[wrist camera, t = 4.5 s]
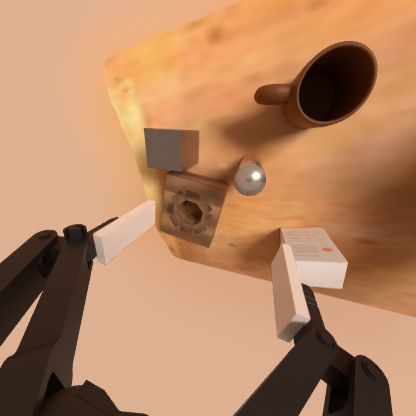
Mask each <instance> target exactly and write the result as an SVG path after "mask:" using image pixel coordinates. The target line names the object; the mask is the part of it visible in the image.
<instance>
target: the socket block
mask: <svg viewBox="0 0 416 416" xmlns="http://www.w3.org/2000/svg"><path fill="white" fill-rule="evenodd" d="M228 187H229V184H227V183H224V182H221V181H217V180H214V179H211V178H207V177H204V176H201V175H197V174H194V173H191V172H188V171H184V170H183V171H171V172H168V173H166V181H165V192H164V202H163V212H162V222H161V231H163V232H166V233H168V234H171V235H174V236H177V237H179V238H182V239H185V240H188V241H191V242H193V243H196V244H199V245H202V246H204V247H207V248H209V247H210V244H211V242H212V239H213V237H214V234H215V230H216V227H217V224H218V220H219V217H220V214H221V210H222V207H223V204H224V200H225V197H226V194H227V190H228ZM186 200H187V201H190V202H193V203H197V205H198V206H199V208H200V209H201V211H202V213H203V214H202V215H196V214H193V213H190V212H189V210H188V209H187V207H186V206H185V202H186Z"/></svg>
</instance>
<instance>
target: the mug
mask: <svg viewBox="0 0 416 416" xmlns="http://www.w3.org/2000/svg"><path fill="white" fill-rule="evenodd" d="M376 77H377V62H376V58H375V56H374V54H373V52H372V51H371V50H370V49H369V48H368V47H367V46H366V45H364V44H362V43H359V42H354V41H344V42H339V43H336V44H333V45H331V46H329V47H327V48H326V49H324V50H322V51H321V52H320V53H318V54H317V55H316V56H315V57H314V58H313V59H312V60H311V61H310V62H308V63H307V65H306V66H305V67H304V68H303V69H302V70H301V72H300V73H299V74H298V76H297V77H296V78H295V80H294V81H293V83H292V84H271V85H265V86H262V87H260V88H258V89H257V91H256V92H255V95H254V99H255V101H256V102H257V103H258V104H262V105H283V111H284V115H285V117H286V119H287V121H288V122H289V123H290V124H292V125H293V126H295V127H299V128H316V127H325V126H329V125H332V124H335V123H338V122H341V121H343V120H345V119H346V118H348V117H349V116H351V115H352V114H354V113H355V112H356V111H357V110H358V109H359V108H360V107H361V106H362V105H363V104H364V102H365V101H366V100H367V98H368V97H369V95H370V93H371V92H372V89H373V87H374V85H375V81H376Z"/></svg>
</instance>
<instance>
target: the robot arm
mask: <svg viewBox="0 0 416 416" xmlns="http://www.w3.org/2000/svg"><path fill="white" fill-rule="evenodd" d="M154 223H155V201H152V200H148V201H146V202H145V203H143V204H141V205H140V206H138V207H136V208H135V209H133V210H132V211H130V212H128V213H126V214H125V215H123V216H122V217H120V218H118V217H115V218H112V219H110V220H108V221H106V222H105V223H103V224H101V225H99V226H98V227H96V228H94V229H92V230H91V231H89V232H87V229H86V226H84V225H82V224H75V225H71V226H68V227H66V228H64V230H63V233H64V237H61V236H58V235H57V232H56V231H54V230H44V231H41V232H38V233H36V234H34V235H33V236H32V237H31V238H30V239H28V240H27V241H26V242H25V243H24V244H23V245H21V246H20V247H19V248H18V249H17V250H16V251H14V252H13V253H12V254H11V255H10V256H8V257H7V258H6V259H5V260H4V261H2V262H1V263H0V346H1V345H2V343H3V342H4V341H5V340H6V338H7V337H8V335H9V334H10V333H11V332H12V330H13V329H14V328H15V326H16V325H17V324H18V322H19V321H20V320H21V318H22V317H23V316H24V314H25V313H26V312H27V310H28V309H29V308H30V306H31V305H32V304H33V302H34V301H35V300H36V299H37V297H38V296H39V294H40V293H41V292H42V291H43V292H42V294H41V297H40V299H39V301H38V304H37V306H36V308H35V310H34V313H33V315H32V317H31V319H30V322H29V324H28V326H27V329H26V331H25V333H24V336H23V338H22V340H21V342H20V345H19V347H18V349H17V351H16V353H15V354H14V355H12V356H10V357H8V358H7V359H6V360H5V361H4V362H3V364H2V366H1V368H0V416H148V415H146V414H142V413H132V412H122V411H119V410H118V409H117V407H116V406H115V404H114V403H113V402H112V400H111V399H110V397H109V396H108V395H107V393H106V392H105V390H103V389H101V388H100V387H98V386H96V385H94V384H93V383H91V382H89V381H87V380H86V381H85V382H84V384H83V385H77V386H72V387H71V385H72V377H73V372H72V367H73V366H72V365H73V360H74V355H75V350H76V345H77V340H78V335H79V330H80V325H81V320H82V315H83V310H84V305H85V300H86V295H87V290H88V285H89V281H90V275H91V270H92V265H93V259H94V258H95V257H96V256H97V259H98V262H100V263H102V264H104V265H107V264H108V263H109V262H110V261H111V260H112V259H114V258H115V257H116V256H117V255H118V254H119V253H121V252H122V251H123V250H124V249H125V248H126V247H128V246H129V245H130V244H131V243H132V242H133V241H135V240H136V239H137V238H138V237H139V236H140V235H142V234H143V233H144V232H145V231H146V230H147V229H148V228H150V227H151V226H152V225H153V224H154ZM271 270H272V282H273V294H274V305H275V317H276V329H277V338H279V339H282V340H284V341H286V342H290V341H291V340H292V339H293V338H294V344H295V346H294V347H293V348H292V349H291V350H290V351H289V352H288V354H287V355H286V356H285V357H284V358H283V359H282V361H281V362H280V363H279V364H278V365H277V366H276V367H275V369H274V370H273V371H272V372H271V373H270V374H269V375H268V377H267V378H266V379H265V380H264V381H263V382H262V384H261V385H260V386H259V387H258V388H257V389H256V390H255V391H254V393H253V394H252V395H251V396H250V397H249V398H248V399H247V401H246V402H245V403H244V404H243V405H242V406H241V407H240V408H239V410H238V411H237V412H236V413H235V414H234V415H233V416H298V415H299V414H300V412H301V411H302V409H303V407H304V406H305V404H306V402H307V401H308V399H309V397H310V396H311V394H312V392H313V391H314V389H315V388H316V386H317V384H318V383H319V381H320V379H322V380H323V381H324V382H326V383H327V389H326V396H325V402H324V409H323V415H322V416H393V414H392V405H391V397H390V389H389V383H388V380H387V378H386V376H385V375H384V373H383V372H382V370H381V369H380V368H379V367H378V366H377V365H376V364H375V363H374V362H373V361H372V360H370V359H369V358H367V357H366V356H363V355H357V356H356V357H353V356H352V355H350V354H349V353H348V352H346V351H345V350H344V349H342V348H341V347H339V346H338V345H337V343H336V341H335V339H334V337H333V336H332V335H331V334H330V333H329V332H328V331H327V330H326V329H325V326H324V323H323V320H322V317H321V315H320V311H319V309H318V307H317V302H316V301H315V296H314V293H313V292H312V290H311V289H310V287H309V286H308V285H305V284H303V283H301V282H300V278H299V275H298V271H297V267H296V264H295V260H294V256H293V252H292V249H291V246H290V245H287V244H284V243H282V244H281V246H280V248H279V250H278V252H277V254H276V256H275V257H274V259H273V261H272V263H271ZM43 289H44V290H43Z"/></svg>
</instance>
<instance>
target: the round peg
mask: <svg viewBox="0 0 416 416" xmlns="http://www.w3.org/2000/svg"><path fill="white" fill-rule="evenodd" d="M265 183H266V178H265V173H264V169H263V164H262V160H261V158H260V157H259V156H258V155H256V154H249V155H246V156H245V157H244V158H243V159H242V161H241V163H240V166H239V168H238V170H237V172H236V174H235V177H234V186H235V188H236V190H237V191H238V192H239V193H241V194H243V195H246V196H253V195H256V194H258V193H259V192H261V191H262V189H263V188H264V186H265Z"/></svg>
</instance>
